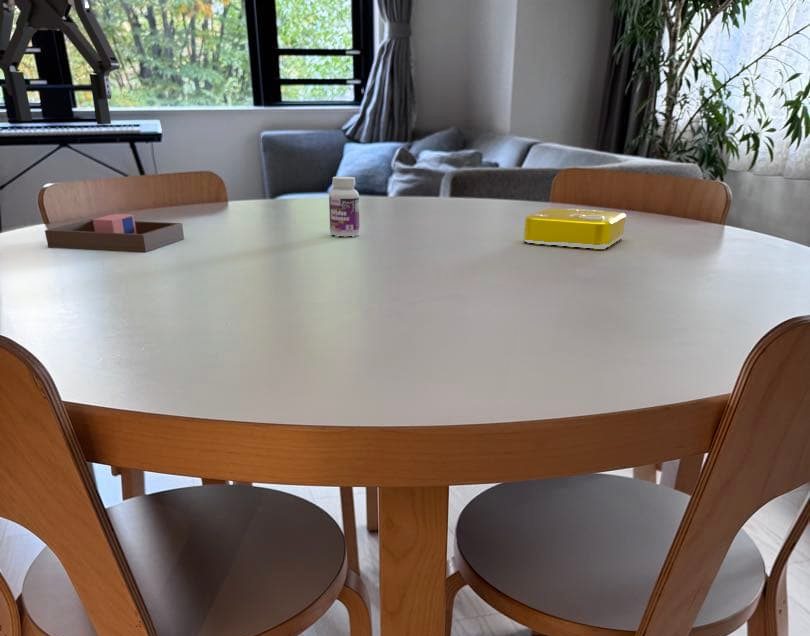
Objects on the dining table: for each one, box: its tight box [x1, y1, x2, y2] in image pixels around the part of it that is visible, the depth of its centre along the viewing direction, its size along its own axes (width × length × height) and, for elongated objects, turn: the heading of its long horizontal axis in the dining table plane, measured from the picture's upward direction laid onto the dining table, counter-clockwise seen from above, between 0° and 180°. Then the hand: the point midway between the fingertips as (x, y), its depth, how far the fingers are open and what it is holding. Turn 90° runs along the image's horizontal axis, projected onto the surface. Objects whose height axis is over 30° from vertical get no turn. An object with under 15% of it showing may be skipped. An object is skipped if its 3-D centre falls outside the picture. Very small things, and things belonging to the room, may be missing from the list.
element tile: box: [523, 207, 627, 251], centre depth 133 cm, size 15×15×5 cm
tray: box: [44, 218, 185, 253], centre depth 128 cm, size 18×14×3 cm
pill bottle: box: [328, 175, 360, 238], centre depth 135 cm, size 5×5×10 cm
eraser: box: [92, 213, 137, 234], centre depth 127 cm, size 7×4×4 cm, turn 168°
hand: (64, 122), depth 117 cm, fingers open, 13 cm apart
